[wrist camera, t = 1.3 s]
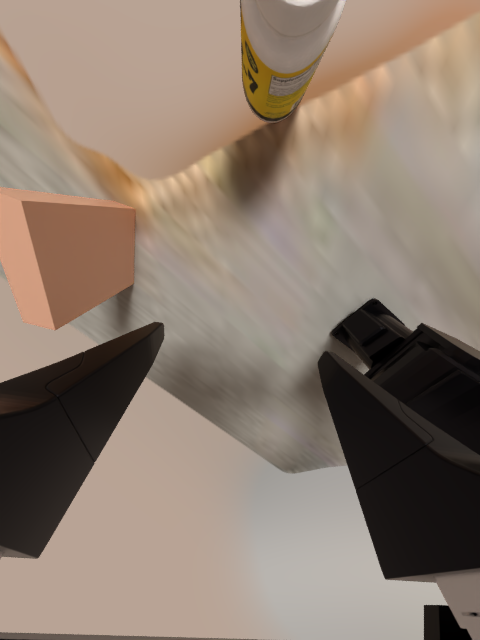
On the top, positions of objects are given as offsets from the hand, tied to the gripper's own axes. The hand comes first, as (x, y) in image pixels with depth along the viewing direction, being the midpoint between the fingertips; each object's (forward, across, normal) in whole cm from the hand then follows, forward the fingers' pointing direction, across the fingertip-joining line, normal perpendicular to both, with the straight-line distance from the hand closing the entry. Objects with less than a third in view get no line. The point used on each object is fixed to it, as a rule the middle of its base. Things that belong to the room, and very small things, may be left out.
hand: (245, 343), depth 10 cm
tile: (+12, +13, -1) cm, 18 cm away
